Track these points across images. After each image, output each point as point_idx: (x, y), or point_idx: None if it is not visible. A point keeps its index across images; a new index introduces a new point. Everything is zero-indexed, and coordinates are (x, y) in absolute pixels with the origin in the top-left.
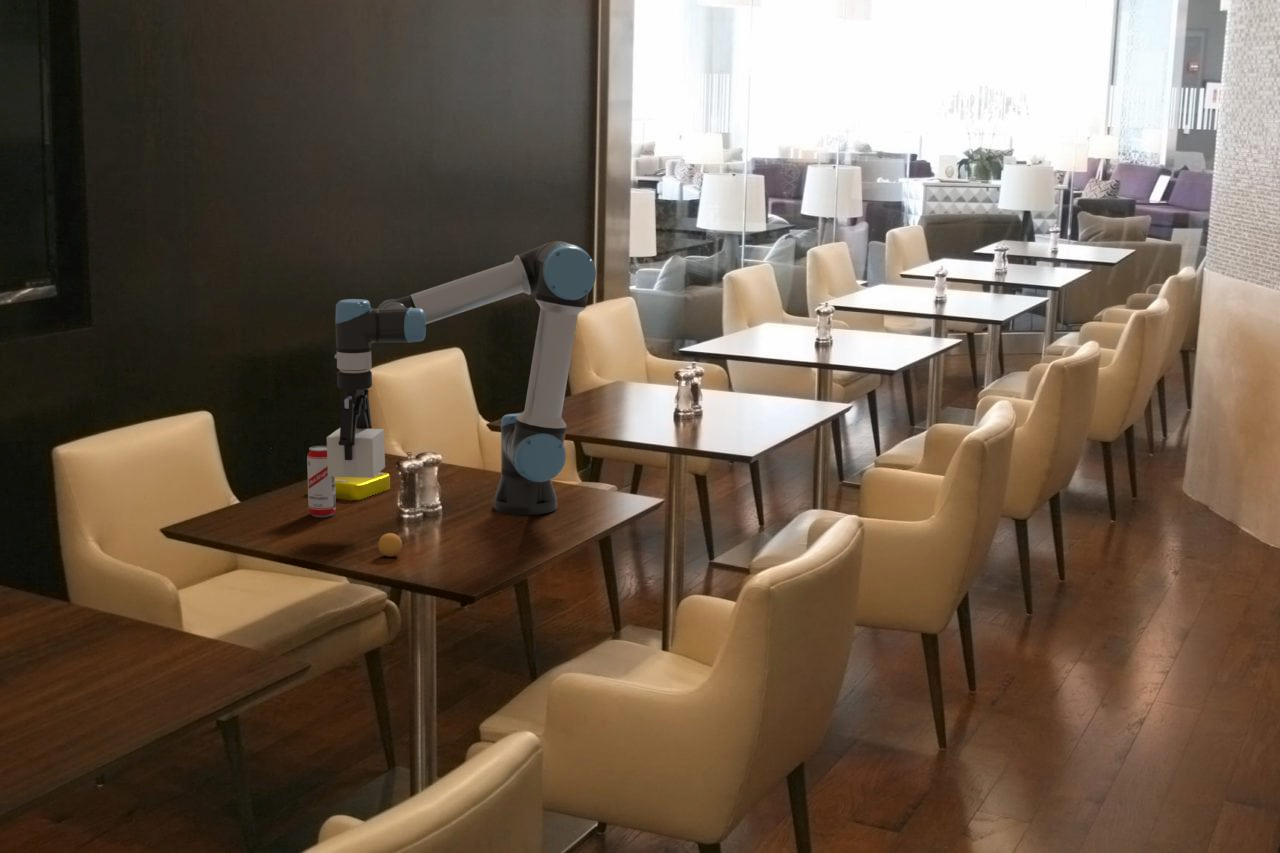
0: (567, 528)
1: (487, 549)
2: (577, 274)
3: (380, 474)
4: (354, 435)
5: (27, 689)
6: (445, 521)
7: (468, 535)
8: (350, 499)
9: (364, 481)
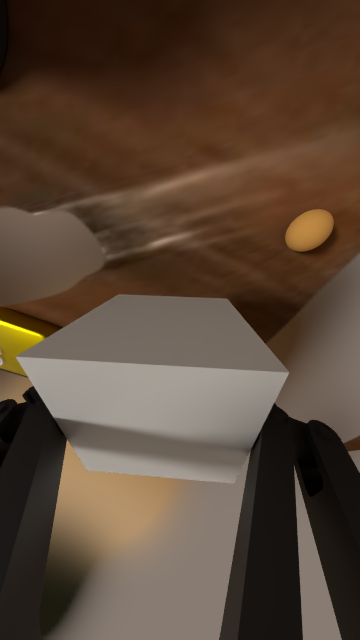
0: None
1: (286, 3)
2: None
3: None
4: (275, 450)
5: None
6: (105, 185)
7: (180, 104)
8: None
9: (25, 333)
